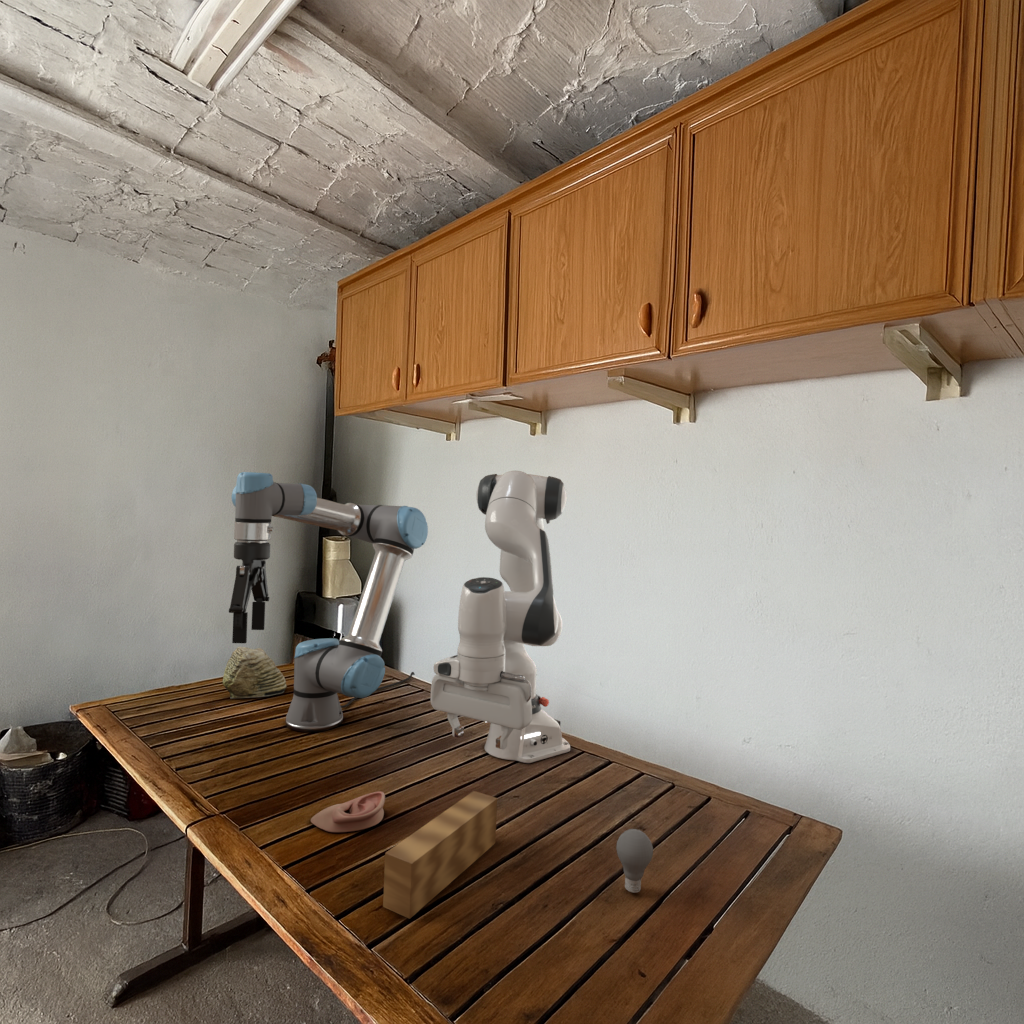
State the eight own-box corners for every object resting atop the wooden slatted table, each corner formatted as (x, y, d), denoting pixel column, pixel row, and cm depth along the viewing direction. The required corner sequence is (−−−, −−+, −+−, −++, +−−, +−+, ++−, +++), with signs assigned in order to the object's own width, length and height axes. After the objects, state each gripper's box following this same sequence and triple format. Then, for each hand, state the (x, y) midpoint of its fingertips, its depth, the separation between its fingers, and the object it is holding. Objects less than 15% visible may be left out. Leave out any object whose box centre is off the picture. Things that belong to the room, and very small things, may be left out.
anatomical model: (303, 807, 121) (332, 781, 132) (302, 827, 121) (331, 800, 132) (368, 817, 118) (392, 790, 129) (367, 838, 118) (391, 809, 129)
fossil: (218, 695, 195) (220, 647, 195) (278, 685, 208) (279, 640, 207) (228, 703, 189) (230, 653, 188) (289, 692, 201) (290, 645, 201)
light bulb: (610, 879, 108) (613, 822, 108) (644, 879, 109) (647, 822, 109) (619, 902, 102) (622, 840, 102) (655, 901, 103) (658, 840, 103)
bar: (409, 919, 96) (411, 863, 96) (382, 907, 99) (384, 852, 99) (495, 843, 119) (497, 798, 118) (471, 834, 121) (473, 790, 121)
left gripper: (253, 546, 129) (249, 649, 130) (283, 538, 154) (280, 625, 155) (215, 545, 129) (211, 648, 129) (251, 537, 153) (248, 624, 154)
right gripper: (539, 672, 114) (537, 748, 114) (445, 655, 124) (444, 725, 124) (523, 681, 108) (520, 761, 109) (426, 662, 118) (424, 735, 119)
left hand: (249, 636), depth 142 cm, fingers open, 13 cm apart
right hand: (479, 742), depth 117 cm, fingers open, 8 cm apart
